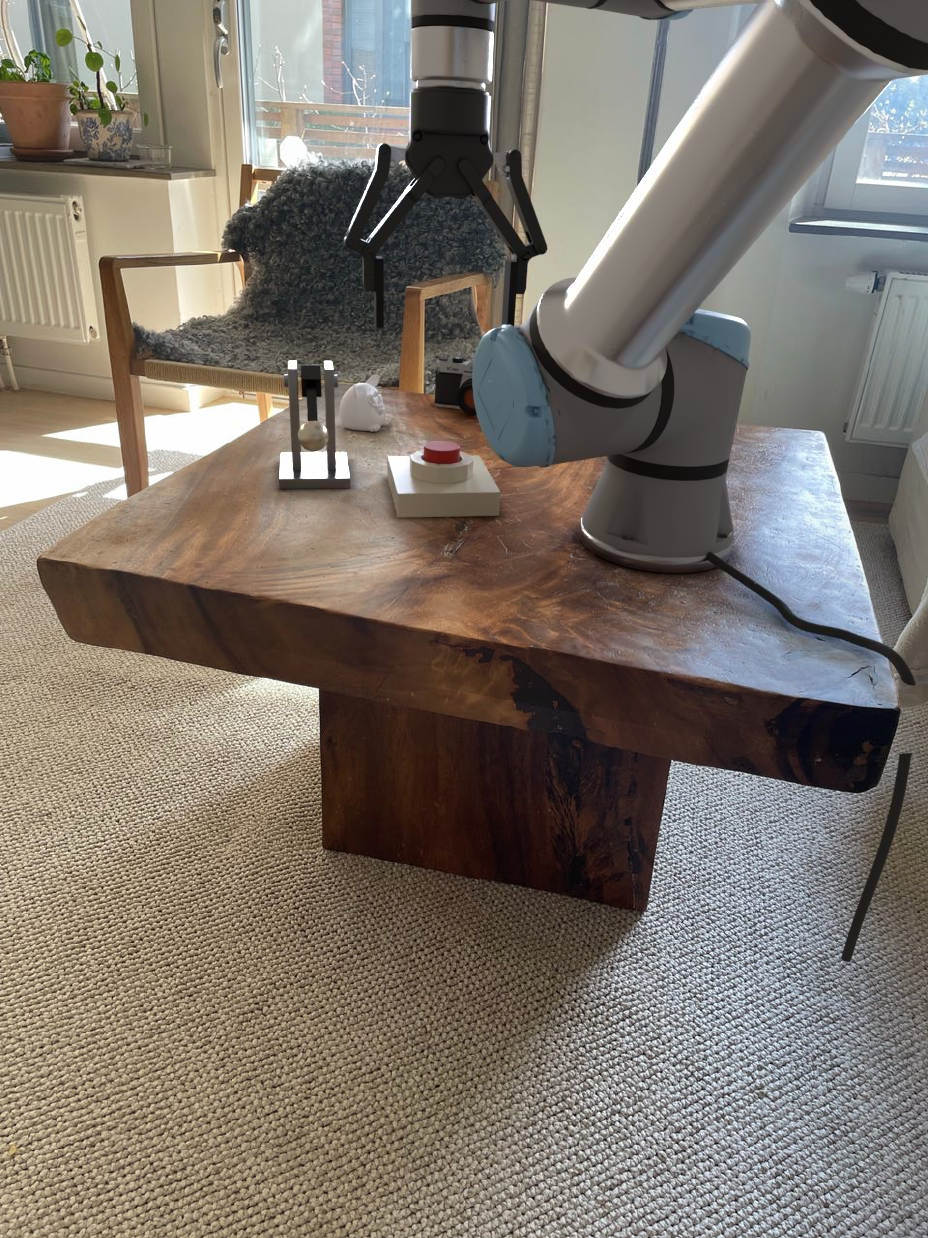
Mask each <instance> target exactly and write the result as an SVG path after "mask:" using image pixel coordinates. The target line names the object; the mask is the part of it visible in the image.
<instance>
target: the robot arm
mask: <svg viewBox="0 0 928 1238" xmlns="http://www.w3.org/2000/svg"><path fill="white" fill-rule="evenodd" d="M505 1H508V0H410V20H411V23H410V24H411V27H410V28H411V30H410V31H411V32H410V33H411V34H410V42H411V43H410V79H411V81H412V82H415V83H416V87H414V88H412V89H411V92H409V138H408V143H407V145H406V147H405V148H403V147H398V146H391V145H390V144H388V143H385V142H384V143H380V144H378V145H377V146H376V149H375V160H374V170H373V172H372V174H371V175H370V179H369V180H368V183H367V185H366V188H365V190H364V193H363V195H362V197H361V198H360V201H359V203H358V206H357V208H356V209H355V212H354V215H353V217H352V219H351V222H350V224H349V226H348V229H347V231H346V232H345V235H344V238H343V243H344V245H345V247H346V248H347V249H348V250H350V251H353V252H356V253H358V254H360V256H361V259H362V285H363V286H362V287H363V288H364V291H365V292H372V293H373V325H374V326H375V328H376V329H384V328H385V308H384V307H385V293H384V292H385V289H384V288H385V282H384V281H385V279H384V278H385V277H384V276H385V275H384V274H385V272H384V271H385V266H384V265H385V263H384V262H385V260H384V257H383V256H382V255H377V253H378V252H379V251H380V249H381V248H382V247H383V245H384V244H385V243H386V242H387V240H388V239H389V238H390V237H391V236H392V234H393V233H394V231H395V230H396V229H397V228H398V226H399V225H400V224H401V223H402V221H403V220H404V219H405V218H406V216H407V215H408V214H409V212H410V211H411V210H412V208H414V207H415V205H416V204H417V203H418V202H419V201H420V200H421V199H422V197H423V196H424V194H425V195H426V196H428V197H430V198H432V199H445V198H449V197H450V198H452V199H456V200H466V199H467V198H469V197H472V199H473V200H474V201H475V203H476V204H477V205H478V206H479V209H481V210H482V213H484V215H485V216H486V218H487V220H488V221H489V223H490V224H491V226H493V229H494V230H495V231H496V233H497V234H498V235H499V237H500V239H501V240H502V241H503V243H504V244H505V246H506V247H507V249H508V250H509V252H510V253H511V255H512V257H513V258H505V259H504V272H503V273H504V274H503V275H504V277H503V291H502V292H503V294H502V309H501V314H502V315H501V325H500V326H499V327H494V328H492V329H490V330H488V331H487V332H486V333H485V334H484V335H483V336H482V338H481V339H480V340H479V343H478V345H477V348H476V351H475V353H474V356H475V357H474V356H473V357H474V363H473V372H472V386H473V396H474V404H475V409H476V413H477V416H476V417H477V420H478V423H479V426H480V428H481V431H482V435H483V436H484V438H485V440H486V442H487V443H488V446H489V447H490V448H491V451H493V452H494V454H495V455H496V456H497V457H498V458H499V459H500V460H502V461H503V462H504V463H507V464H509V465H510V466H512V467H516V468H532V467H539V468H549V467H551V466H554V465H560V464H561V465H562V464H568V463H573V462H580V461H585V460H590V459H591V460H592V459H597V458H603V457H606V460H605V461H606V462H605V465H604V468H603V469H602V472H601V474H600V477H599V479H598V480H597V483H596V484H595V487H594V489H593V491H592V492H591V496H590V499H588V502H587V504H586V506H585V508H584V511H583V513H582V517H581V519H580V528H579V540H580V541H581V544H582V545H583V546H584V547H585V548H586V549H587V550H589V551H590V552H592V553H593V554H594V555H596V556H598V557H600V558H602V559H604V560H606V561H609V562H612V563H614V564H617V565H620V566H623V567H628V568H632V569H636V570H642V571H648V572H656V573H667V574H668V573H670V574H685V573H688V574H689V573H696V572H702V571H708V570H711V569H715V568H719V569H720V570H721V571H723V572H724V573H726V574H727V575H728V576H730V577H731V578H733V579H735V580H736V581H737V582H739V583H740V584H742V585H743V586H745V587H746V588H748V589H749V590H751V591H752V592H753V593H755V594H756V595H758V596H759V597H761V598H762V599H763V600H765V601H766V602H767V603H768V604H770V605H771V606H772V607H774V608H775V609H776V610H777V611H778V613H780V615H781V617H782V618H783V619H784V620H785V621H786V622H787V623H789V625H791V626H793V627H794V628H797V629H799V630H801V631H804V632H807V633H810V634H814V635H819V636H824V637H829V638H834V639H837V640H841V641H845V642H847V643H849V644H851V645H854V646H858V647H861V648H863V649H866V650H869V651H872V652H874V653H877V654H880V655H882V656H883V657H885V658H886V659H887V660H888V661H889V663H891V664H892V666H893V667H894V669H895V670H896V672H897V673H898V675H899V677H900V679H901V681H902V682H903V683H904V684H906V685H908V686H911V687H914V686H916V684H917V683H916V680H915V678H914V674H913V672H912V670H911V669H910V667H909V665H908V664H907V662H906V660H905V659H904V658H903V657H902V655H900V654H899V653H898V651H896V650H894V649H893V648H891V647H890V646H888V645H886V644H885V643H883V642H880V641H877V640H875V639H872V638H868V637H866V636H862V635H860V634H857V633H855V632H852V631H849V630H846V629H843V628H839V627H835V626H830V625H829V626H828V625H824V624H818V623H814V622H810V621H807V620H805V619H803V618H801V617H798V616H797V615H796V614H794V612H793V611H792V609H791V608H790V607H789V606H788V605H787V604H786V602H784V601H783V600H782V599H781V598H779V597H778V596H777V595H776V594H774V593H772V592H771V591H770V590H769V589H768V588H765V587H764V586H762V585H761V584H759V583H758V582H757V581H755V580H753V579H752V578H750V577H749V576H747V575H746V574H744V573H743V572H742V571H740V570H739V569H738V568H736V567H734V566H733V565H731V564H730V563H728V562H727V561H728V560H729V559H730V558H731V555H732V550H733V545H734V541H735V540H734V539H735V535H734V533H735V532H734V524H733V519H732V511H731V504H730V498H729V491H728V483H727V475H728V469H729V464H730V463H729V462H730V457H731V453H732V448H733V444H734V443H733V442H734V438H735V434H736V433H735V432H736V428H737V423H738V419H739V414H740V413H739V412H740V409H741V403H742V398H743V393H744V387H745V382H746V377H747V372H748V370H749V368H750V362H749V356H750V348H751V340H752V333H751V329H750V327H749V324H748V323H747V322H746V321H744V320H743V318H740V317H737V316H733V315H730V314H726V313H721V312H716V311H711V310H706V309H703V308H702V309H701V308H700V307H701V306H702V305H703V304H704V303H705V301H706V300H707V299H708V298H709V296H711V294H712V293H713V292H714V291H715V290H716V288H717V287H718V286H719V285H720V284H721V283H722V281H723V280H724V279H725V278H726V277H727V275H728V274H730V272H731V271H732V270H733V268H734V267H735V266H736V265H737V264H738V263H739V261H740V260H741V259H742V258H743V256H744V255H745V254H746V253H747V252H748V251H749V250H750V249H751V247H752V246H753V245H754V244H755V242H757V240H758V239H759V238H760V237H761V236H762V234H763V233H764V232H765V231H766V230H767V228H769V226H770V225H771V224H772V222H774V220H775V219H776V218H777V217H778V215H780V214H781V212H782V211H783V210H784V209H785V207H786V206H787V205H788V204H789V203H790V201H791V200H792V199H793V198H794V197H795V196H796V194H797V193H798V192H799V191H800V190H801V188H802V187H803V186H804V185H805V184H806V183H807V181H808V180H809V179H810V178H811V177H812V176H813V175H814V174H815V172H816V171H817V169H819V167H820V166H821V165H822V164H823V163H824V161H825V160H826V159H827V158H828V157H829V156H830V154H832V152H833V151H834V150H835V149H836V147H837V146H838V145H839V144H840V143H841V141H842V140H843V139H844V138H845V137H846V136H847V134H849V132H850V131H851V130H852V129H853V127H854V126H855V125H856V124H857V123H858V121H859V120H860V119H861V118H862V117H863V115H865V113H866V112H867V111H868V110H869V108H870V107H871V106H872V105H873V104H874V103H875V102H876V100H877V99H878V98H879V97H880V95H881V94H882V93H883V92H884V91H885V90H886V89H887V87H888V86H889V85H890V84H891V83H892V82H894V81H896V80H898V79H907V78H913V77H920V76H928V0H532V1H534V2H540V3H545V4H546V3H547V4H554V5H559V6H560V5H561V6H567V7H575V8H582V9H587V10H598V11H603V12H609V13H610V12H611V13H616V14H620V15H626V16H627V15H628V16H635V17H639V18H640V19H642V20H647V21H677V20H681V19H684V18H686V17H688V16H689V15H690V14H691V13H692V12H693V11H694V10H699V9H700V10H701V9H710V8H722V7H733V6H742V5H754V4H756V5H755V7H754V9H753V10H752V11H751V13H750V15H749V17H748V18H747V19H746V21H745V22H744V24H743V26H742V27H741V28H740V30H739V31H738V33H736V36H735V37H734V39H733V40H732V42H731V44H730V45H729V47H728V48H727V50H726V51H725V53H724V54H723V56H722V57H721V58H720V60H719V62H718V63H717V65H716V66H715V68H714V70H713V71H712V72H711V74H710V75H709V77H708V79H706V81H705V83H704V85H703V86H702V88H701V90H699V92H698V94H697V95H696V97H695V98H694V100H693V102H692V103H691V104H690V106H689V108H688V109H687V110H686V112H685V114H684V115H683V116H682V118H681V119H680V121H679V122H678V124H677V126H676V127H675V128H674V130H673V132H672V133H671V135H670V136H669V137H668V140H667V141H666V142H665V144H664V145H663V147H662V148H661V150H660V151H659V152H658V154H657V156H656V158H655V159H654V161H653V162H652V164H651V165H650V166H649V168H648V170H647V171H646V173H645V174H644V176H643V177H642V179H641V180H640V182H639V183H638V185H637V186H636V188H635V189H634V191H633V192H632V194H631V195H630V197H629V198H628V200H627V202H626V203H625V205H623V206H624V207H623V208H622V209H621V211H620V212H619V213H618V215H617V217H616V218H615V220H614V221H613V223H612V224H611V226H610V227H609V229H608V230H607V231H606V233H605V235H604V237H603V238H602V239H601V241H600V243H599V244H598V245H597V246H596V248H595V250H594V252H593V253H592V255H591V256H590V258H588V261H587V263H585V265H584V267H583V269H581V271H580V273H579V274H578V276H577V277H567V278H564V279H560V280H559V281H557V282H554V283H553V284H552V285H551V286H549V287H548V288H547V289H546V291H545V292H544V293H543V294H542V295H541V297H540V299H539V300H538V302H537V304H536V305H535V307H534V308H533V310H532V311H531V313H530V315H529V316H528V318H527V320H525V321H524V322H523V323H522V324H520V325H515V323H516V322H515V321H516V308H517V307H516V305H517V304H516V303H517V295H525V293H526V291H527V283H528V269H529V268H528V267H529V262H530V260H532V259H533V258H535V257H537V256H542V255H545V254H546V253H547V252H548V244H547V241H546V238H545V236H544V233H543V230H542V228H541V224H540V222H539V219H538V216H537V214H536V211H535V208H534V205H533V203H532V199H531V197H530V194H529V192H528V188H527V185H526V183H525V180H524V177H523V163H522V161H523V160H522V152H521V151H520V150H518V149H516V148H515V149H507V150H506V151H498V152H492V149H491V146H490V129H491V128H490V127H491V126H490V125H491V106H492V105H491V104H492V96H491V95H490V92H489V91H486V86H489V85H490V84H491V83H492V82H493V61H494V60H493V58H494V35H495V34H494V33H495V16H496V15H495V13H496V4H497V3H501V2H505ZM403 161H404V163H405V165H406V166H407V168H408V169H409V171H410V173H411V174H412V176H413V179H412V180H411V182H410V183H409V184H408V185H407V186H406V188H405V189H404V191H403V193H401V195H400V196H399V198H398V199H397V200H396V202H395V203H394V204H393V205H392V207H391V208H390V209H389V210H388V212H387V213H386V214H385V216H384V217H383V218H382V220H380V222H379V223H378V224H377V226H376V228H374V230H373V231H372V232H371V234H370V235H369V236H368V238H366V240H365V239H362V236H363V234H364V232H365V229H366V227H367V225H368V223H369V220H370V218H371V216H372V214H373V211H374V209H375V207H376V206H377V205H376V204H377V203H378V200H379V199H380V196H381V193H382V191H383V190H384V188H385V187H384V186H385V185H386V182H387V180H388V177H389V173H390V172H394V171H396V170H397V168H398V167H399V164H400V163H401V162H403ZM493 166H495V167H496V168H497V172H498V174H499V175H500V176H504V179H505V183H506V186H507V189H508V191H509V195H510V197H511V200H512V202H513V205H514V208H515V210H516V213H517V216H518V218H519V221H520V224H521V227H522V229H523V233H524V235H525V237H526V240H527V243H524V242H523V240H522V238H521V237H520V236H519V234H518V233H517V231H516V230H515V228H514V226H513V225H512V224H511V222H510V221H509V219H508V218H507V216H506V214H505V213H504V212H503V210H502V209H501V208H500V206H499V204H498V203H497V202H496V200H495V198H494V197H493V195H492V192H491V191H490V189H489V188H488V187H487V185H486V184H485V182H484V181H483V180H484V178H485V177H486V175H488V173H489V171H490V170H491V168H492V167H493ZM911 761H912V752H907V753H906V752H905V753H904V752H903V753H899V755H898V762H897V768H896V775H895V780H894V788H893V792H892V796H891V800H890V805H889V809H888V810H889V811H888V812H887V813H888V814H887V817H886V822H885V825H884V828H883V831H882V835H881V838H880V841H879V844H878V848H877V851H876V853H875V857H874V860H873V863H872V866H871V868H870V871H869V874H868V877H867V879H866V882H865V885H864V887H863V890H862V893H861V896H860V898H859V901H858V904H857V906H856V909H855V912H854V915H853V917H852V921H851V923H850V927H849V930H848V932H847V937H846V940H845V943H844V946H843V950H842V953H841V956H840V958H841V960H842V961H843V962H845V963H851V961H852V959H853V955H854V952H855V948H856V946H857V942H858V939H859V936H860V933H861V930H862V927H863V924H864V921H865V919H866V916H867V913H868V910H869V908H870V904H871V902H872V899H873V897H874V894H875V892H876V889H877V886H878V883H879V880H880V878H881V876H882V873H883V870H884V867H885V864H886V862H887V859H888V856H889V854H890V850H891V848H892V845H893V840H894V837H895V835H896V831H897V828H898V824H899V820H900V816H901V813H902V808H903V804H904V800H905V795H906V790H907V785H908V779H909V774H910V768H911Z"/></svg>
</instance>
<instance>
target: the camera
mask: <svg viewBox="0 0 928 1238" xmlns="http://www.w3.org/2000/svg"><path fill="white" fill-rule="evenodd" d="M474 357H475V355H474V356H473V357H472V358H471V359H470V360H469V361H468V360H467V358H464V357H463V356H459V355H458V356H457V355H456V356H452V357H446V356H440V357H438V358H437V360H436V361H435V366H434V371H433V372H434V374H435V376H434V377H435V379H434V385H435V386H434V401H433V402H434V406H435V407H439V408H449V409H457V410H461V411H462V412H463V413H464V414H466V415H468V416H470V417H471V416H472V417H477V413H476V409H475V404H474V396H473V386H472V372H473V363H474Z"/></svg>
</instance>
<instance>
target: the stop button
mask: <svg viewBox="0 0 928 1238" xmlns="http://www.w3.org/2000/svg"><path fill="white" fill-rule="evenodd" d="M423 450H424V461H427V462H429V463H435V464H453V463H458V462H460V451H461V445H460V444H459V443H457V442H454V441H449V440H431V441H427V442H425V443H424V444H423Z"/></svg>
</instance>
